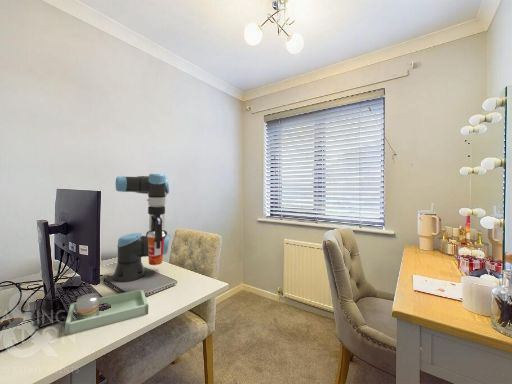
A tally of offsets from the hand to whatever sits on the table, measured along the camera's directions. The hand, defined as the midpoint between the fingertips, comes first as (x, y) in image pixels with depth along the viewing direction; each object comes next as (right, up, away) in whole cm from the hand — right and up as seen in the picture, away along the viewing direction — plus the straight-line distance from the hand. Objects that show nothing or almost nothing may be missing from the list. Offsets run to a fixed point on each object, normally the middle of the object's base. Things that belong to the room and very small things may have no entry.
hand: (155, 252), depth 112 cm
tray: (-10, -20, -20) cm, 30 cm away
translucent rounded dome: (-16, -19, -24) cm, 34 cm away
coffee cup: (0, -5, 0) cm, 5 cm away
